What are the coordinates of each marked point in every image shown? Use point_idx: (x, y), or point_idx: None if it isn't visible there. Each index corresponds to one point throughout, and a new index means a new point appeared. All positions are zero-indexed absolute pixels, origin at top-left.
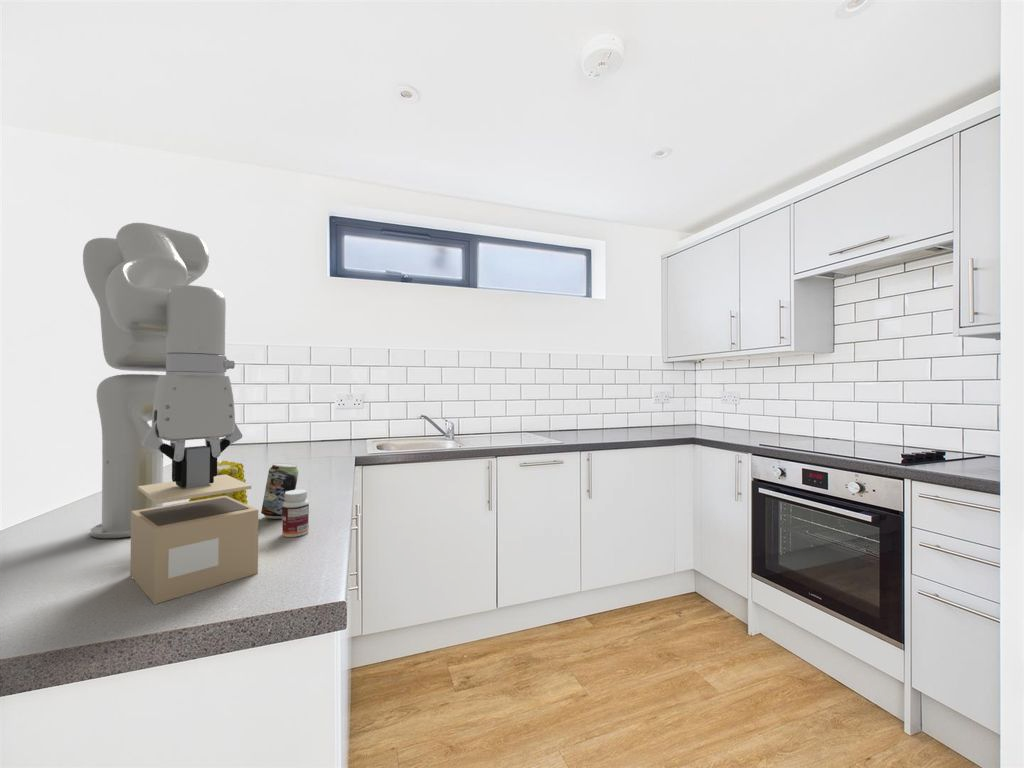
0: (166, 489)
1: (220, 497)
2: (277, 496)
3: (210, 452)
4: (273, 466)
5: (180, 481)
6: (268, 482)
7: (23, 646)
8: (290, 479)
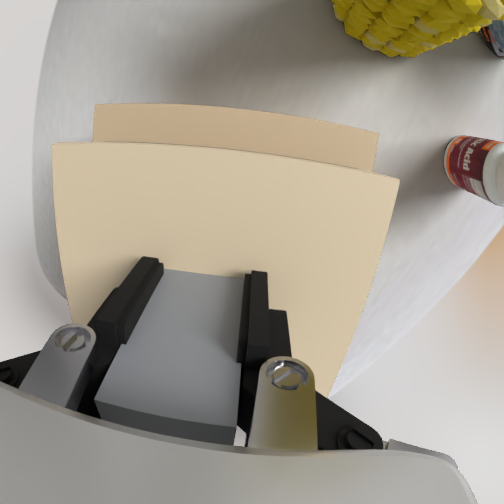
0: (112, 281)
1: (353, 147)
2: None
3: (246, 431)
4: None
5: None
6: None
7: (45, 264)
8: None
